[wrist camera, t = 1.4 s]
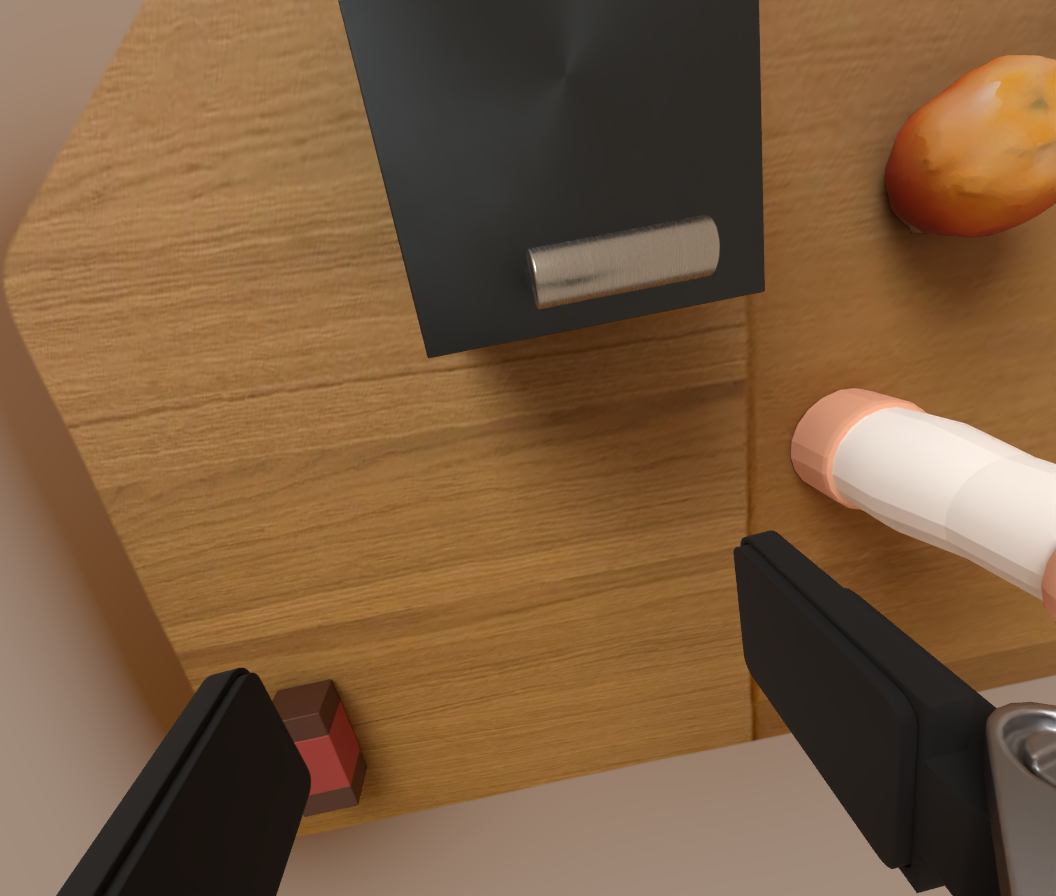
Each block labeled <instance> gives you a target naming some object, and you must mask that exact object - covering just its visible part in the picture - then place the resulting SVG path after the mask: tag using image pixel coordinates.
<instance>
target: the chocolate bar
mask: <svg viewBox="0 0 1056 896" xmlns="http://www.w3.org/2000/svg"><path fill="white" fill-rule="evenodd" d="M272 702H273V704H274V706H275V707H276V709H277V711H278V713H279V715H280V717H281V719H282V721H283V722H284V724H285V726H286V728H287V730H288V732H289V734H290V735H291V737H292V739H293V741H294V743H295V745H296V747H297V748H298V750H299V752H300V754H301V756H302V758H303V760H304V762H305V763H306V765H307V767H308V769H309V772H310V775H311V790H310V794H309V797H308V800H307V803H306V806H305V809H304V812H303V815H304V817H307V816H311V815H316V814H320V813H325V812H329V811H333V810H338V809H342V808H347V807H351V806H356V805H358V803H359V799H360V795H361V790H362V786H363V782H364V777H365V773H366V769H367V766H366V764H365V761H364V759H363V756H362V754H361V752H360V746H359V744H358V742H357V739H356V737H355V734H354V732H353V729H352V727H351V724H350V722H349V719H348V717H347V714H346V712H345V709H344V707H343V704H342V702H341V700H339V697H338V695H337V692H336V690H335V687H334V685H333V683H332V680H327V681H323V682H318V683H313V684H309V685H304V686H300V687H295V688H290V689H286V690H281V691H278V692H277V693H276V695H275V697H274V699H273V701H272Z"/></svg>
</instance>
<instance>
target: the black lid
mask: <svg viewBox="0 0 1056 896" xmlns="http://www.w3.org/2000/svg"><path fill="white" fill-rule="evenodd" d="M338 2H339V6H340V10H341V14H342V18H343V22H344V26H345V29H346V33H347V37H348V41H349V45H350V49H351V53H352V57H353V61H354V65H355V69H356V73H357V77H358V81H359V85H360V89H361V93H362V97H363V101H364V105H365V109H366V113H367V117H368V121H369V125H370V129H371V133H372V137H373V141H374V145H375V149H376V153H377V157H378V161H379V165H380V169H381V173H382V177H383V181H384V185H385V189H386V193H387V197H388V201H389V205H390V209H391V213H392V217H393V221H394V225H395V229H396V233H397V237H398V241H399V245H400V249H401V253H402V257H403V261H404V265H405V269H406V273H407V277H408V281H409V285H410V289H411V293H412V297H413V301H414V305H415V309H416V313H417V317H418V321H419V325H420V329H421V333H422V337H423V341H424V344H425V348H426V352H427V356H428V358H433V357H438V356H443V355H448V354H453V353H458V352H463V351H468V350H473V349H478V348H483V347H488V346H493V345H498V344H503V343H508V342H513V341H518V340H523V339H528V338H533V337H538V336H543V335H548V334H554V333H559V332H564V331H569V330H574V329H579V328H584V327H589V326H594V325H599V324H604V323H609V322H614V321H619V320H624V319H629V318H634V317H639V316H644V315H649V314H654V313H659V312H664V311H669V310H674V309H679V308H685V307H690V306H695V305H700V304H705V303H710V302H715V301H720V300H725V299H730V298H735V297H740V296H745V295H750V294H755V293H760V292H764V291H765V281H764V231H763V182H762V132H761V82H760V32H759V0H338Z"/></svg>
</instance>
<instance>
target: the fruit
mask: <svg viewBox="0 0 1056 896" xmlns="http://www.w3.org/2000/svg"><path fill="white" fill-rule="evenodd" d="M885 186H886V189H887V192H888V196H889V202H890V205H891V209H892V211H893V212H894V213H895V214H896V215H897V216H898V218H899V219H900V220H901V221H902V222H904V223H905V224H906V225H908V226H909V227H910V228H911V230H912V231H911V233H912V232H921V233H924V234H937V235H947V236H961V237H981V236H989V235H993V234H996V233H999V232H1002V231H1005V230H1007V229H1010V228H1012V227H1015V226H1017V225H1020V224H1022V223H1024V222H1026V221H1028V220H1030V219H1032V218H1034V217H1036V216H1038V215H1039V214H1041V213H1042V212H1044V211H1045V210H1047V209H1048V208H1050V207H1051V206H1053V205H1054V204H1055V203H1056V60H1055V59H1049V58H1046V57H1042V56H1032V55H1017V56H1002V57H998V58H996V59H994V60H992V61H991V62H989V63H987V64H985V65H983V66H981V67H979V68H977V69H975V70H973V71H971V72H969V73H966V74H965V75H963V76H962V77H961V78H959V79H958V80H957V81H956V82H955V83H953V84H952V85H951V86H950V87H949V88H947V89H946V90H945V91H944V92H942V93H941V94H939V95H938V96H937V97H935V98H934V99H932V100H931V101H929V102H928V103H926V104H925V105H924V106H922V107H921V108H920V109H918V110H917V111H916V112H915V113H914V114H913V115H911V116H910V117H909V119H908V120H907V121H906V123H905V124H904V126H903V127H902V129H901V130H900V132H899V133H898V135H897V138H896V140H895V142H894V145H893V148H892V152H891V154H890V157H889V159H888V162H887V165H886V168H885Z"/></svg>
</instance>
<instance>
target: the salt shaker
mask: <svg viewBox="0 0 1056 896" xmlns="http://www.w3.org/2000/svg"><path fill="white" fill-rule="evenodd" d="M791 459H792V463H793V466H794V470H795V471H796V472H797V474H798V475H799V476H800V478H801V479H802V480H803V481H804V482H806V483H807V484H809V485H811V486H812V487H814V488H816V489H817V490H819V491H820V492H822V493H824V494H825V495H827V496H829V497H830V498H832V499H834V500H835V501H837V502H839V503H840V504H842V505H844V506H846V507H847V508H852V509H859V510H863V511H865V512H867V513H868V514H870V515H871V516H873V517H874V518H876V519H877V520H879V521H881V522H882V523H884V524H885V525H887V526H889V527H891V528H892V529H894V530H896V531H898V532H900V533H903V534H905V535H908V536H911V537H913V538H916V539H918V540H921V541H923V542H926V543H928V544H931V545H934V546H936V547H939V548H941V549H944V550H946V551H949V552H952V553H954V554H957V555H959V556H962V557H964V558H967V559H968V560H970V561H972V562H974V563H976V564H977V565H979V566H981V567H983V568H985V569H986V570H988V571H990V572H992V573H994V574H995V575H997V576H999V577H1001V578H1003V579H1004V580H1006V581H1008V582H1010V583H1012V584H1013V585H1015V586H1017V587H1019V588H1021V589H1022V590H1024V591H1026V592H1028V593H1030V594H1031V595H1033V596H1035V597H1037V598H1039V599H1040V600H1042V601H1043V605H1044V606H1045V608H1046V610H1047V611H1048V613H1049V614H1050V616H1051V617H1052V619H1053V620H1054V622H1055V623H1056V464H1054V463H1051V462H1048V461H1045V460H1042V459H1039V458H1036V457H1034V456H1032V455H1030V454H1027V453H1025V452H1023V451H1021V450H1019V449H1017V448H1015V447H1013V446H1011V445H1009V444H1007V443H1005V442H1003V441H1001V440H999V439H997V438H994V437H992V436H990V435H988V434H986V433H984V432H982V431H980V430H978V429H976V428H974V427H972V426H970V425H968V424H965V423H961V422H957V421H953V420H950V419H946V418H942V417H938V416H934V415H930V414H926V412H925V411H924V410H922V409H921V408H919V407H918V406H916V405H915V404H913V403H912V402H909V401H905V400H901V399H898V398H894V397H891V396H887V395H883V394H880V393H876V392H872V391H868V390H863V389H858V388H851V389H844V390H838V391H836V392H834V393H832V394H830V395H827V396H825V397H823V398H822V399H820V400H819V401H818V402H817V403H816V404H814V405H813V406H812V407H811V408H810V409H808V411H807V412H806V413H805V415H804V416H803V418H802V419H801V420H800V422H799V423H798V425H797V427H796V430H795V433H794V435H793V438H792V442H791Z"/></svg>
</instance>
